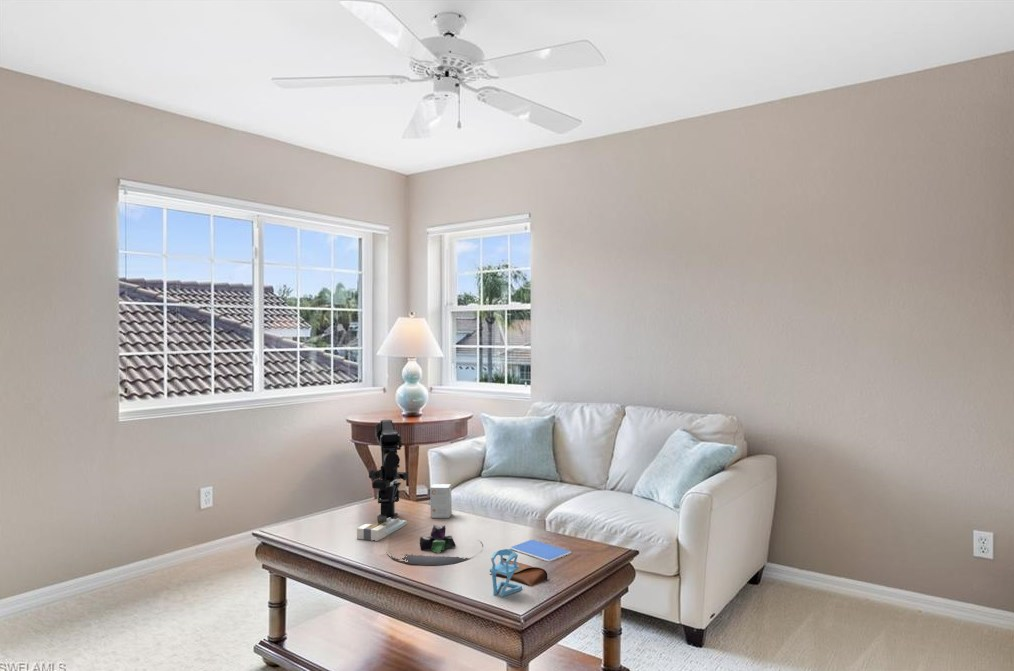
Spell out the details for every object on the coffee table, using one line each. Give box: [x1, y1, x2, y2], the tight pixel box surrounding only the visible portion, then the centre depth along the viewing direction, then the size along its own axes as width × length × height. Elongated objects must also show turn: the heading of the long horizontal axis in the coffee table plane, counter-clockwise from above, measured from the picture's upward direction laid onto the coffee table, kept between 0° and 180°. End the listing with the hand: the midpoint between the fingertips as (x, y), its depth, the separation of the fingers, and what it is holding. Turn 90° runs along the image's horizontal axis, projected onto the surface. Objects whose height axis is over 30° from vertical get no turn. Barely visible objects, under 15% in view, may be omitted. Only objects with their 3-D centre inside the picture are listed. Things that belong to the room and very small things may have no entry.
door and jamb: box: [356, 517, 408, 542], centre depth 249 cm, size 22×9×4 cm, turn 160°
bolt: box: [368, 514, 387, 529], centre depth 245 cm, size 10×3×4 cm, turn 160°
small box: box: [429, 483, 453, 519], centre depth 270 cm, size 8×6×13 cm
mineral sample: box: [386, 524, 484, 566], centre depth 228 cm, size 35×35×9 cm
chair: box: [489, 548, 523, 598], centre depth 189 cm, size 8×8×12 cm
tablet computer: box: [509, 539, 572, 563], centre depth 224 cm, size 19×13×1 cm, turn 45°
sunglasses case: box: [489, 557, 548, 588], centre depth 201 cm, size 18×7×7 cm
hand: (390, 501), depth 255 cm, fingers closed
